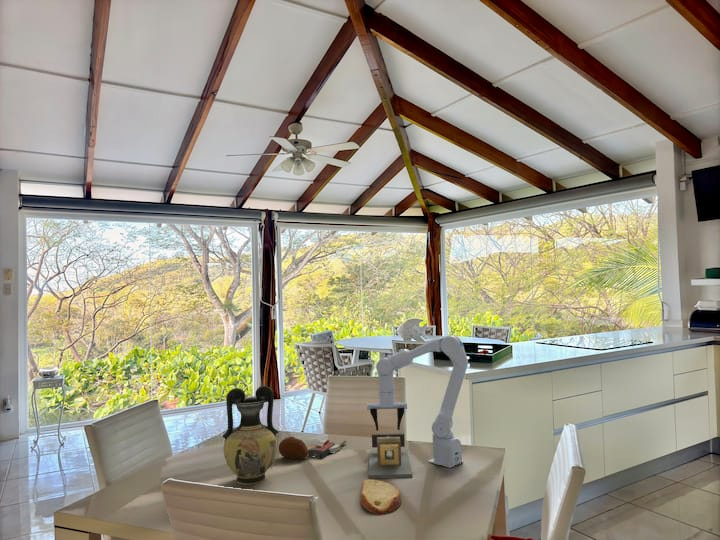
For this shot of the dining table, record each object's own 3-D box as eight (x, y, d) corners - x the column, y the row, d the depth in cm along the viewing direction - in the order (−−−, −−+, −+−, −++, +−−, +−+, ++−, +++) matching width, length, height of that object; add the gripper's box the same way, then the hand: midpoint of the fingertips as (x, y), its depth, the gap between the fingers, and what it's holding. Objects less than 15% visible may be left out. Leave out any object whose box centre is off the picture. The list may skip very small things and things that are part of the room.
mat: (369, 453, 179) (369, 450, 179) (407, 452, 179) (407, 449, 179) (368, 478, 153) (368, 475, 154) (412, 477, 153) (412, 474, 153)
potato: (304, 462, 171) (303, 440, 172) (274, 461, 174) (273, 439, 174) (311, 456, 179) (310, 434, 179) (282, 455, 181) (281, 433, 182)
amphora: (226, 493, 144) (225, 393, 147) (220, 476, 160) (219, 385, 162) (283, 484, 151) (281, 387, 153) (272, 468, 166) (271, 380, 169)
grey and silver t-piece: (372, 446, 178) (371, 434, 178) (404, 445, 178) (404, 433, 178) (371, 465, 157) (371, 451, 157) (408, 464, 156) (407, 450, 157)
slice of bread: (371, 483, 150) (370, 471, 150) (420, 496, 138) (419, 483, 139) (332, 503, 136) (332, 489, 136) (383, 519, 124) (382, 504, 125)
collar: (380, 463, 160) (380, 444, 161) (398, 462, 160) (397, 444, 160) (380, 464, 159) (380, 446, 159) (398, 464, 159) (398, 445, 159)
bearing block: (377, 459, 168) (377, 437, 169) (400, 459, 168) (399, 436, 169) (377, 465, 162) (377, 442, 163) (401, 465, 162) (400, 441, 163)
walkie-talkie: (327, 460, 174) (348, 445, 193) (326, 448, 174) (347, 434, 193) (305, 458, 177) (328, 443, 196) (305, 446, 177) (328, 432, 196)
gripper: (405, 389, 178) (407, 426, 177) (366, 390, 178) (368, 427, 177) (406, 392, 171) (408, 431, 170) (366, 393, 171) (367, 432, 170)
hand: (387, 429), depth 173 cm, fingers open, 7 cm apart
